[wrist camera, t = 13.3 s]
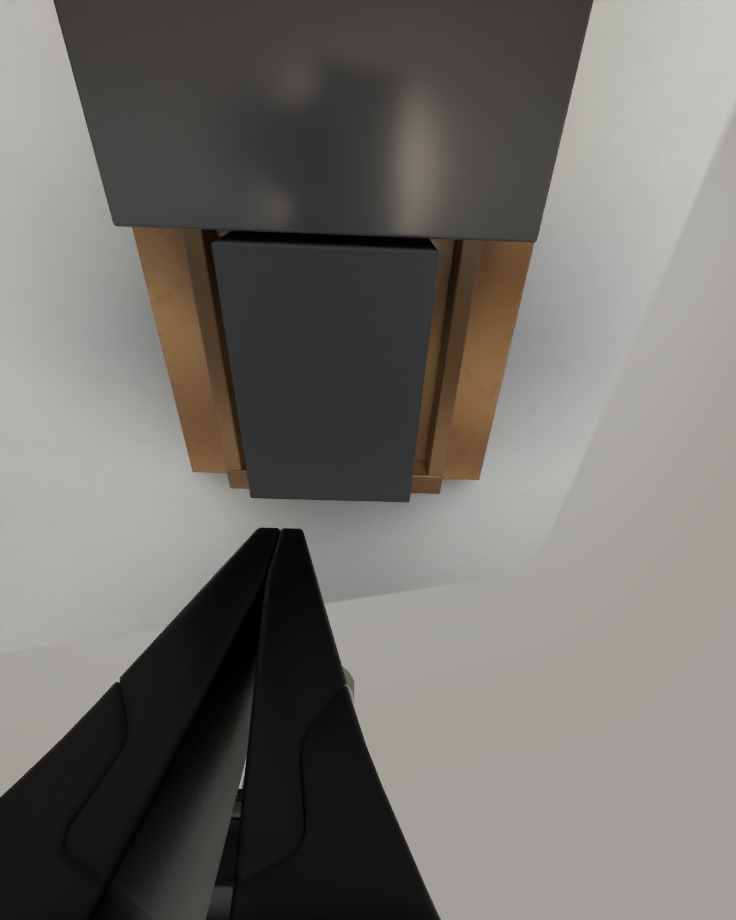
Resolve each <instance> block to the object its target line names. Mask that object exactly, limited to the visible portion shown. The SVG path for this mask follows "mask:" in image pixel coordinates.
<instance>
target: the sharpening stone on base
mask: <svg viewBox="0 0 736 920" xmlns="http://www.w3.org/2000/svg"><path fill="white" fill-rule="evenodd" d="M54 4H55V8H56V12H57V15H58V19H59V23H60V26H61V30H62V34H63V38H64V41H65V45H66V49H67V52H68V56H69V60H70V64H71V67H72V71H73V75H74V79H75V82H76V86H77V90H78V93H79V97H80V101H81V105H82V108H83V112H84V116H85V119H86V123H87V127H88V131H89V134H90V138H91V142H92V145H93V149H94V153H95V157H96V160H97V164H98V168H99V172H100V175H101V179H102V183H103V186H104V190H105V194H106V198H107V201H108V205H109V209H110V212H111V216H112V220H113V223H114V225H116V226H125V227H132V228H133V232H134V236H135V240H136V244H137V248H138V252H139V256H140V260H141V264H142V268H143V272H144V276H145V280H146V284H147V288H148V293H149V297H150V301H151V305H152V309H153V313H154V317H155V321H156V325H157V329H158V333H159V337H160V341H161V345H162V349H163V353H164V357H165V361H166V365H167V369H168V373H169V377H170V381H171V385H172V389H173V394H174V398H175V402H176V406H177V410H178V414H179V418H180V422H181V426H182V430H183V434H184V438H185V442H186V446H187V450H188V454H189V458H190V462H191V466H192V470H193V472H212V473H228V478H229V484H230V488H241V489H249V483H248V477H247V470H246V464H245V457H244V451H243V445H242V438H241V432H240V425H239V419H238V412H237V406H236V400H235V393H234V387H233V380H232V374H231V367H230V361H229V355H228V348H227V342H226V335H225V329H224V322H223V316H222V310H221V303H220V297H219V290H218V284H217V278H216V271H215V265H214V258H213V252H212V245H211V244H212V242H214V241H216V240H217V239H219V238H221V237H222V236H224V235H226V234H227V233H229V232H231V231H252V232H277V233H302V234H328V235H353V236H378V237H404V238H429V239H430V240H431V241H432V243H433V244H434V246H435V247H436V248H437V250H438V251H439V262H438V270H437V279H436V287H435V295H434V303H433V312H432V320H431V328H430V336H429V344H428V353H427V361H426V369H425V377H424V385H423V394H422V402H421V410H420V418H419V427H418V435H417V443H416V451H415V459H414V468H413V476H412V484H411V492H410V493H429V494H439V493H440V489H441V483H442V479H467V480H479V477H480V473H481V469H482V464H483V460H484V456H485V452H486V447H487V443H488V439H489V434H490V430H491V426H492V421H493V417H494V413H495V409H496V404H497V400H498V396H499V391H500V387H501V383H502V379H503V374H504V370H505V366H506V361H507V357H508V353H509V348H510V344H511V340H512V336H513V331H514V327H515V323H516V318H517V314H518V310H519V306H520V301H521V297H522V293H523V288H524V284H525V280H526V275H527V271H528V267H529V263H530V258H531V254H532V250H533V245H534V242H536V241H537V238H538V233H539V229H540V225H541V221H542V216H543V212H544V208H545V204H546V199H547V195H548V191H549V187H550V182H551V178H552V174H553V170H554V165H555V161H556V157H557V153H558V148H559V144H560V140H561V136H562V131H563V127H564V123H565V119H566V114H567V110H568V106H569V102H570V97H571V93H572V89H573V85H574V80H575V76H576V72H577V68H578V63H579V59H580V55H581V51H582V46H583V42H584V38H585V34H586V29H587V25H588V21H589V17H590V12H591V8H592V4H593V0H54Z"/></svg>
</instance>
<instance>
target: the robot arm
mask: <svg viewBox="0 0 736 920" xmlns="http://www.w3.org/2000/svg"><path fill="white" fill-rule="evenodd" d="M246 756H247V758H246ZM245 760H246V767H245V776H244V780H243V785H242V789H238V788H239V784H240V780H241V776H242V771H243V768H244V764H245ZM0 920H441V919H440V917H439V915H438V913H437V911H436V909H435V907H434V904H433V902H432V900H431V898H430V895H429V893H428V891H427V889H426V887H425V884H424V882H423V880H422V877H421V875H420V873H419V871H418V868H417V866H416V863H415V861H414V859H413V856H412V854H411V852H410V849H409V847H408V845H407V842H406V840H405V838H404V835H403V833H402V831H401V829H400V827H399V824H398V821H397V819H396V817H395V815H394V812H393V810H392V808H391V805H390V803H389V801H388V798H387V796H386V794H385V791H384V789H383V787H382V784H381V782H380V779H379V777H378V774H377V772H376V769H375V767H374V764H373V762H372V759H371V757H370V754H369V752H368V749H367V746H366V743H365V741H364V737H363V734H362V731H361V728H360V725H359V722H358V719H357V716H356V713H355V710H354V706H353V702H352V699H351V695H350V692H349V688H348V687H347V686H346V679H345V675H344V672H343V668H342V665H341V661H340V658H339V654H338V651H337V647H336V644H335V641H334V637H333V634H332V630H331V627H330V623H329V620H328V616H327V613H326V609H325V606H324V602H323V599H322V595H321V592H320V588H319V585H318V581H317V578H316V574H315V571H314V567H313V564H312V560H311V557H310V553H309V550H308V546H307V543H306V539H305V536H304V533H303V531H302V530H301V529H292V528H283V529H282V530H281V531H280V530H279V529H278V528H259V529H257V530H256V531H255V532H254V533H253V534H252V535H251V536H250V537H249V538H248V540H247V541H246V542H245V543H244V544H243V545H242V546H241V547H240V548H239V549H238V550H237V551H236V553H235V554H234V555H233V556H232V557H231V558H230V559H229V560H228V561H227V562H226V563H225V564H224V566H223V567H222V568H221V569H220V570H219V571H218V572H217V573H216V574H215V575H214V576H213V577H212V579H211V580H210V581H209V582H208V583H207V584H206V585H205V586H204V587H203V588H202V589H201V590H200V592H199V593H198V594H197V595H196V596H195V597H194V598H193V599H192V600H191V601H190V602H189V603H188V605H187V606H186V607H185V608H184V609H183V610H182V611H181V612H180V613H179V614H178V615H177V616H176V618H175V619H174V620H173V621H172V622H171V623H170V624H169V625H168V626H167V627H166V628H165V629H164V631H163V632H162V633H161V634H160V635H159V636H158V637H157V638H156V639H155V640H154V641H153V642H152V644H151V645H150V646H149V647H148V648H147V649H146V650H145V651H144V652H143V653H142V654H141V656H140V657H139V658H138V659H137V660H136V661H135V662H134V663H133V664H132V665H131V666H130V667H129V668H128V669H127V671H126V672H125V673H124V674H123V675H122V676H121V677H120V682H115V684H113V686H112V687H111V688H110V689H109V690H108V691H107V692H106V693H105V694H104V695H103V696H102V697H101V698H100V700H99V701H98V702H97V703H96V704H95V705H94V706H93V707H92V708H91V709H90V710H89V711H88V712H87V713H86V714H85V715H84V716H83V717H82V718H81V719H80V720H79V721H78V723H77V724H76V725H75V726H74V727H73V728H72V729H71V730H70V731H69V732H68V733H67V734H66V735H65V736H64V737H63V738H62V739H61V740H60V741H59V742H58V743H57V744H56V745H55V746H54V747H53V748H52V749H51V750H50V751H49V752H48V753H47V754H46V755H44V757H42V758H41V759H40V760H39V761H38V762H37V763H36V764H35V765H34V766H33V767H32V768H31V769H30V770H29V771H28V772H27V773H26V774H25V775H24V776H23V777H22V778H21V779H19V780H18V781H17V782H16V783H15V784H14V785H13V786H12V787H11V788H10V789H9V790H8V791H7V792H6V793H4V794H3V795H2V796H1V797H0Z"/></svg>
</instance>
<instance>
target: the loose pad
mask: <svg viewBox="0 0 736 920" xmlns="http://www.w3.org/2000/svg"><path fill="white" fill-rule="evenodd" d="M211 245H212V252H213V258H214V265H215V271H216V278H217V284H218V290H219V297H220V303H221V310H222V316H223V322H224V329H225V335H226V342H227V348H228V355H229V361H230V367H231V374H232V380H233V387H234V393H235V400H236V406H237V412H238V419H239V425H240V432H241V438H242V445H243V451H244V457H245V464H246V470H247V477H248V483H249V489H250V496H251V498H271V499H308V500H344V501H381V502H409V501H410V492H411V484H412V476H413V468H414V459H415V451H416V443H417V435H418V427H419V418H420V410H421V402H422V394H423V385H424V377H425V369H426V361H427V353H428V344H429V336H430V328H431V320H432V312H433V303H434V295H435V287H436V279H437V270H438V262H439V251H438V250H437V248H436V247H435V246H434V244H433V243H432V241H431V240H430V239H429V238H404V237H378V236H353V235H328V234H302V233H277V232H252V231H231V232H229V233H227V234H226V235H224V236H222V237H221V238H219V239H217V240H216V241H214V242H212V244H211Z"/></svg>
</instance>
